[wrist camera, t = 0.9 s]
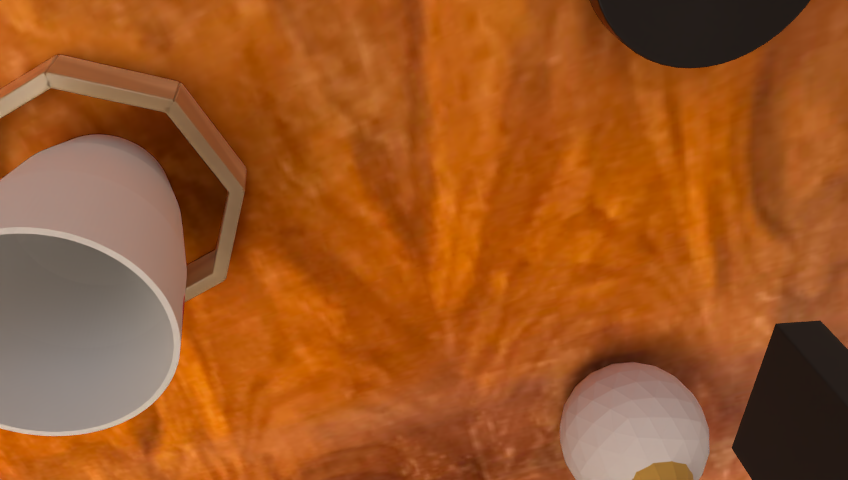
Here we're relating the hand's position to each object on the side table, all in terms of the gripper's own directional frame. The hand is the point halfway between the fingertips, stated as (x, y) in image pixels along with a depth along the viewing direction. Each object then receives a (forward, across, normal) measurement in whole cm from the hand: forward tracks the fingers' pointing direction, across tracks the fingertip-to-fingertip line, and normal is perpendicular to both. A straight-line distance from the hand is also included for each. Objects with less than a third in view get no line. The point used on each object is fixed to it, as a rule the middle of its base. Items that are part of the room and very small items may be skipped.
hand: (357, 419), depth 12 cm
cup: (+22, -9, -7) cm, 25 cm away
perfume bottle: (+22, +16, -22) cm, 35 cm away
